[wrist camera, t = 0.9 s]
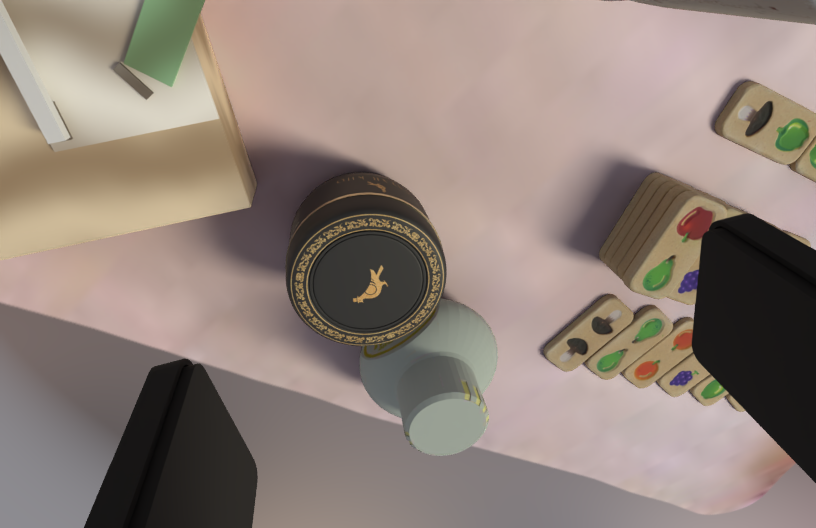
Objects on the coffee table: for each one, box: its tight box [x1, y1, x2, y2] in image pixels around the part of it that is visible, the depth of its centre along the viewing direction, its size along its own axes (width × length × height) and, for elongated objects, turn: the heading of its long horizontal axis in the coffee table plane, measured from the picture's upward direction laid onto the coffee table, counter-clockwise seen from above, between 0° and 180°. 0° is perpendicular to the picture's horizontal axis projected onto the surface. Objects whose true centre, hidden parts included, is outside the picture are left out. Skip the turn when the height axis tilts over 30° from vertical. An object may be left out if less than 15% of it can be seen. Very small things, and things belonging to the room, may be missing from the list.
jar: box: [286, 172, 446, 346], centre depth 35 cm, size 10×10×8 cm
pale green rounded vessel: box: [359, 299, 498, 456], centre depth 40 cm, size 11×8×10 cm
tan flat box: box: [0, 0, 257, 260], centre depth 27 cm, size 22×17×4 cm
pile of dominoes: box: [543, 81, 816, 412], centre depth 45 cm, size 35×27×6 cm
